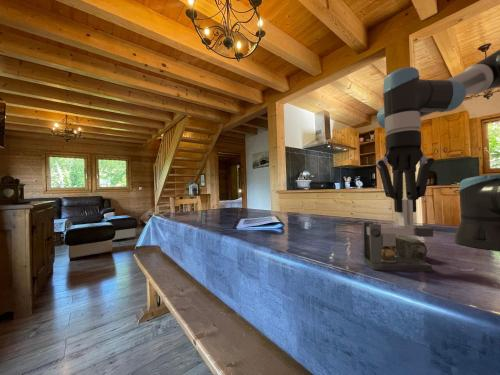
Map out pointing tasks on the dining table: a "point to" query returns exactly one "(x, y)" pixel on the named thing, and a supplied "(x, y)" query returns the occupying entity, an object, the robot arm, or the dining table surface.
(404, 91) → the robot arm
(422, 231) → the lever
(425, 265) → the cracker base
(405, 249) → the stone
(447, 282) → the dining table surface
